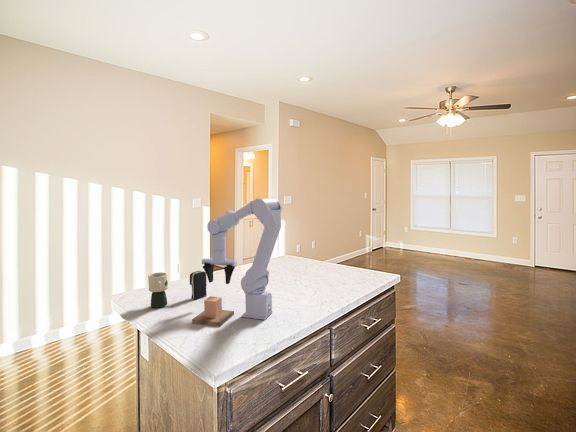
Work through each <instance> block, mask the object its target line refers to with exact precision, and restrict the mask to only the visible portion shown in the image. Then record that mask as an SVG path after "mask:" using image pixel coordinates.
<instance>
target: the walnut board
mask: <svg viewBox="0 0 576 432" xmlns="http://www.w3.org/2000/svg"><path fill="white" fill-rule="evenodd" d="M234 315H235V311H234V310H227V309H222V314H221V315H219V316H218V317H217V318H211V317H205V312H204V310H203V311H202V312H200V313H199V314H197V315H196V316H194V317H192V319H191V324H194V325H203V326H214V327H222V326H223V325H224V324H225V323H227V321H229V320H230V318H232V317H233V316H234Z"/></svg>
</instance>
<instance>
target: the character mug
mask: <svg viewBox="0 0 576 432" xmlns="http://www.w3.org/2000/svg"><path fill="white" fill-rule="evenodd" d="M147 281H148V291H149V292H151V297H150V307H152V308H156V307H157V308H160V307H165V306H167V305H168V299H167V293H166V291H167V290H168V289H169V288H168V287H169V284H168V283H169V282H168V272H154V273H150V274H148V280H147Z"/></svg>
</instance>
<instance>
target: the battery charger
mask: <svg viewBox="0 0 576 432" xmlns="http://www.w3.org/2000/svg"><path fill="white" fill-rule="evenodd" d="M189 285H190V286H191V296H190V297H191V299H192V300H198V299H202V298H204V297H207V295H208V294H207V274H206V272H205V270H197V271H196V270H195V271H194V272H191V273H190V274H189Z"/></svg>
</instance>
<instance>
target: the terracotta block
mask: <svg viewBox="0 0 576 432" xmlns="http://www.w3.org/2000/svg"><path fill="white" fill-rule="evenodd" d="M222 298H223V297H221V296H219V297H218V296H213V295H212V296H209V297H208V298H206V299H203V300H204V301H203V303H204V304H203V306H204V309H203V311H204V312H205V317H211V318H217V317H218V316H219V315H221V314H222V310H223V304H222V303H223V299H222Z"/></svg>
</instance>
